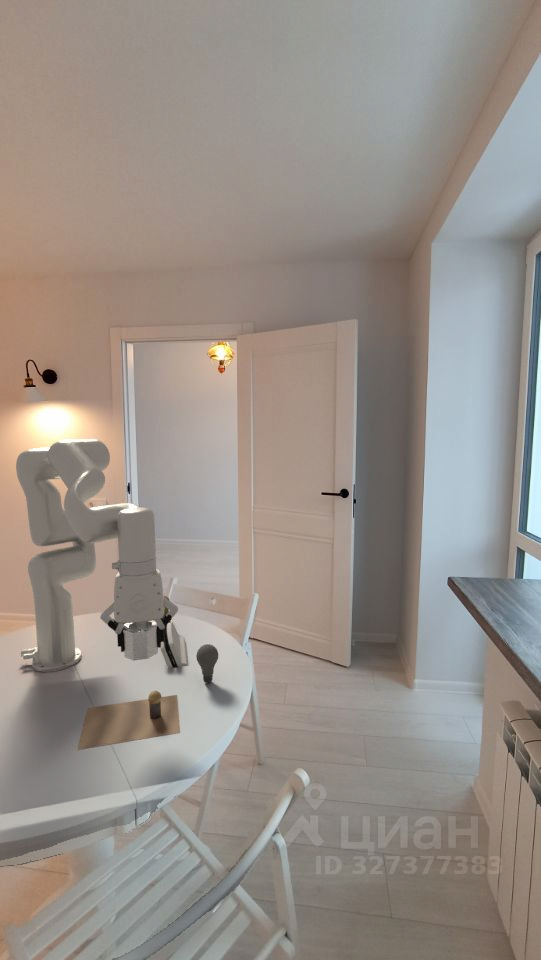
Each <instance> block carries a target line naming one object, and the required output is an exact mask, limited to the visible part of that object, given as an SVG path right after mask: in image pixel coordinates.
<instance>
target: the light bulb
mask: <svg viewBox="0 0 541 960" xmlns="http://www.w3.org/2000/svg"><path fill="white" fill-rule="evenodd" d="M196 660H197V663H198V665H199V667H200V669H201V673H202V678H203V679H202V680H203V682H204V683H206V684H209V683H211V682H212V681H213V677H214V675H213V674H214V669H215V665H216V664H217V662H218V660H219V652H218V649H217V647H215V645H212V644H209V643H208V644H203V645H201V646H200V647H199V648H198V650H197V652H196Z"/></svg>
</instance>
